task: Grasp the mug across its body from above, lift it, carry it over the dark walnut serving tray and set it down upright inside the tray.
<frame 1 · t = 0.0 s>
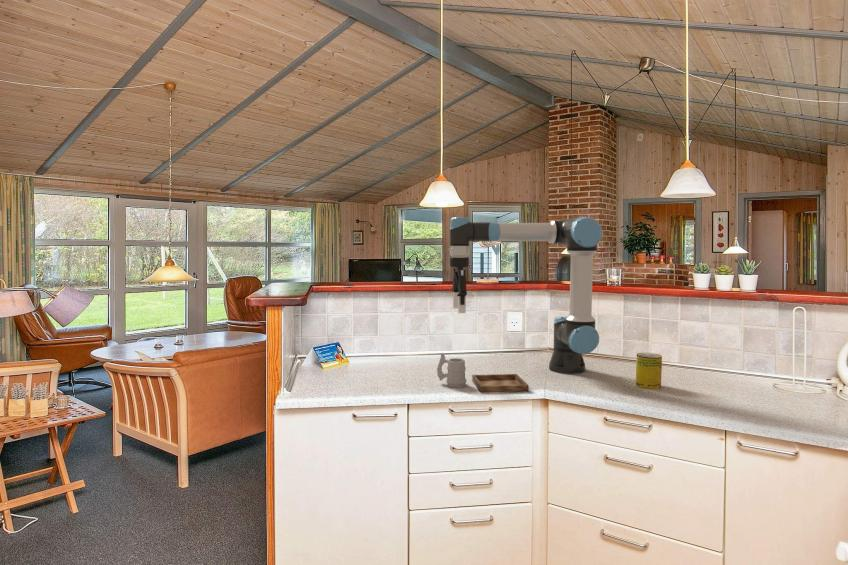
hand: (459, 310, 218), 28 cm above the worktop, fingers open, 13 cm apart
tray: (499, 386, 212), on the worktop
mug: (451, 385, 215), on the worktop
yellow tin can: (648, 386, 213), on the worktop
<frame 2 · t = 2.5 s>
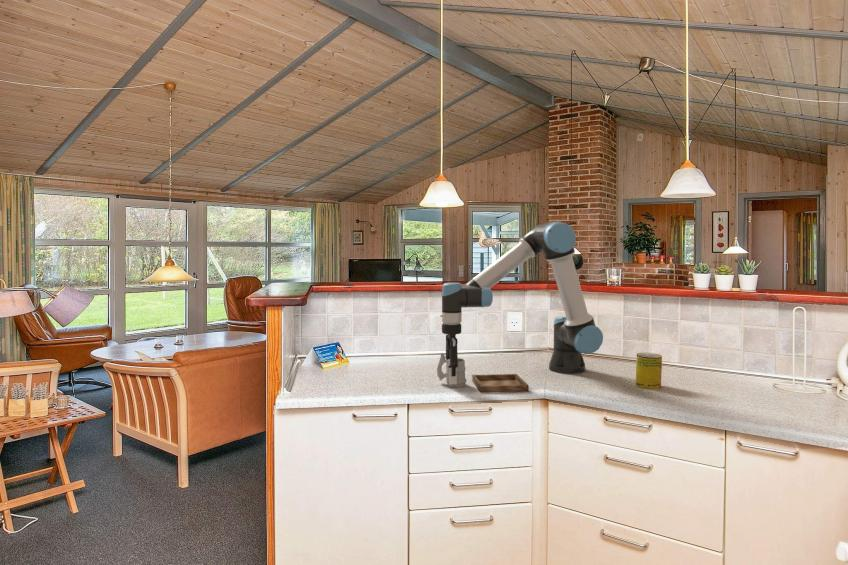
hand: (451, 381, 214), 1 cm above the worktop, fingers open, 9 cm apart
mug: (451, 384, 215), on the worktop, touching gripper
everything else where it was.
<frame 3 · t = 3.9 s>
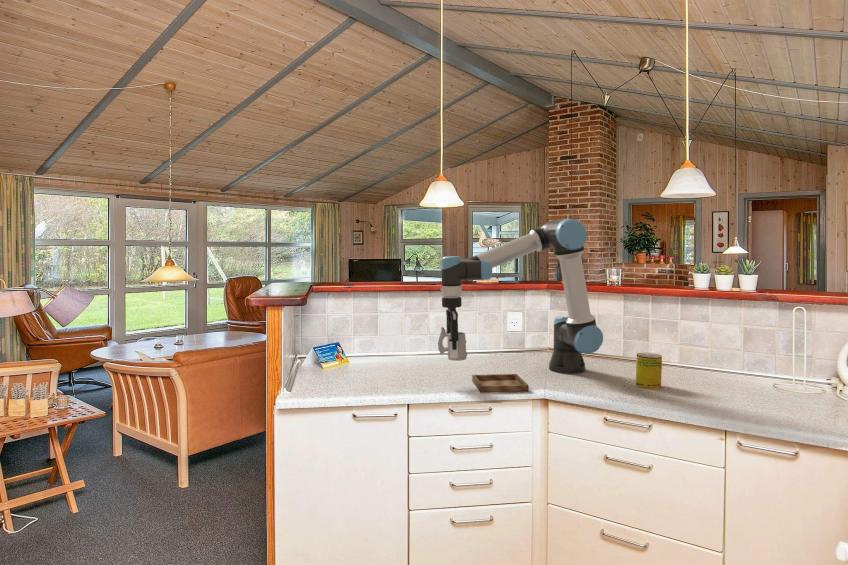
hand: (452, 355, 214), 11 cm above the worktop, fingers closed on mug, 8 cm apart
mug: (452, 358, 215), point 10 cm above the worktop, touching gripper
everything else where it was.
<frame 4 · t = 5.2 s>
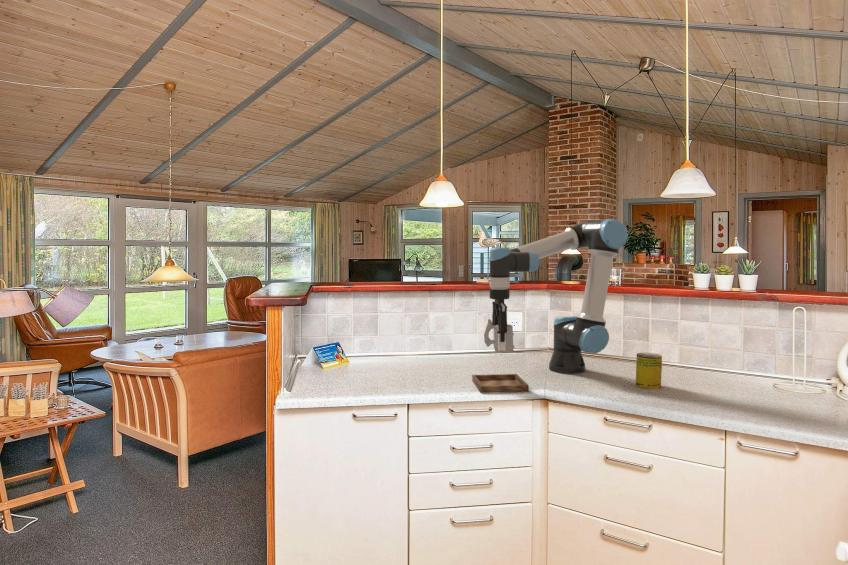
hand: (499, 347, 211), 15 cm above the worktop, fingers closed on mug, 8 cm apart
mug: (498, 351, 212), point 13 cm above the worktop, touching gripper
everything else where it was.
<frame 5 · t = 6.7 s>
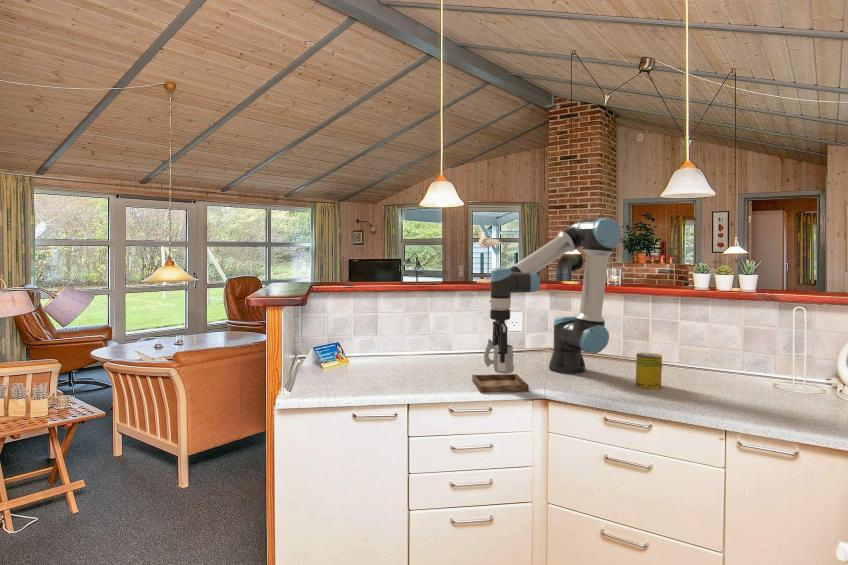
hand: (499, 368, 212), 7 cm above the worktop, fingers closed on mug, 8 cm apart
mug: (498, 371, 213), point 6 cm above the worktop, touching gripper
everything else where it was.
when the fingers open (4 cm above the worktop, at t = 7.8 s): mug drops 2 cm, resting on tray.
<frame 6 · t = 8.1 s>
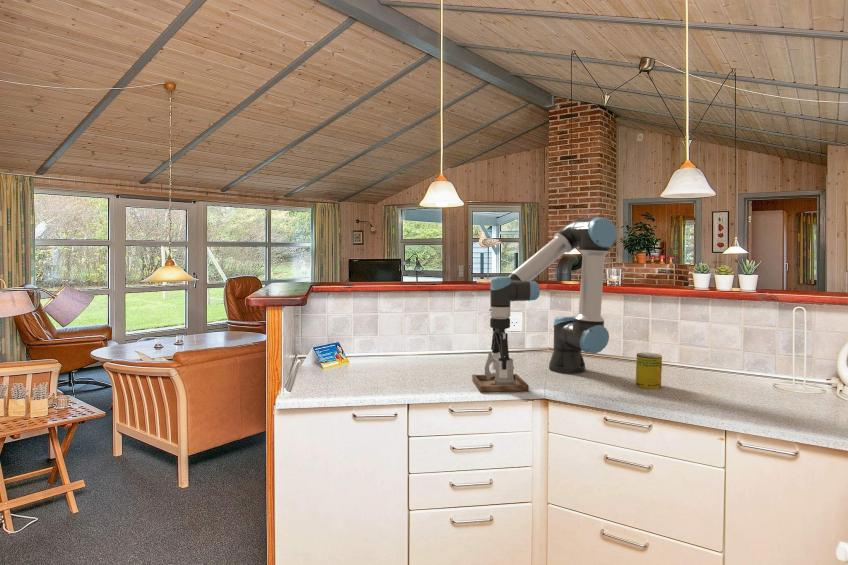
hand: (499, 373, 212), 5 cm above the worktop, fingers open, 12 cm apart
mug: (499, 384, 213), resting on tray
everything else where it was.
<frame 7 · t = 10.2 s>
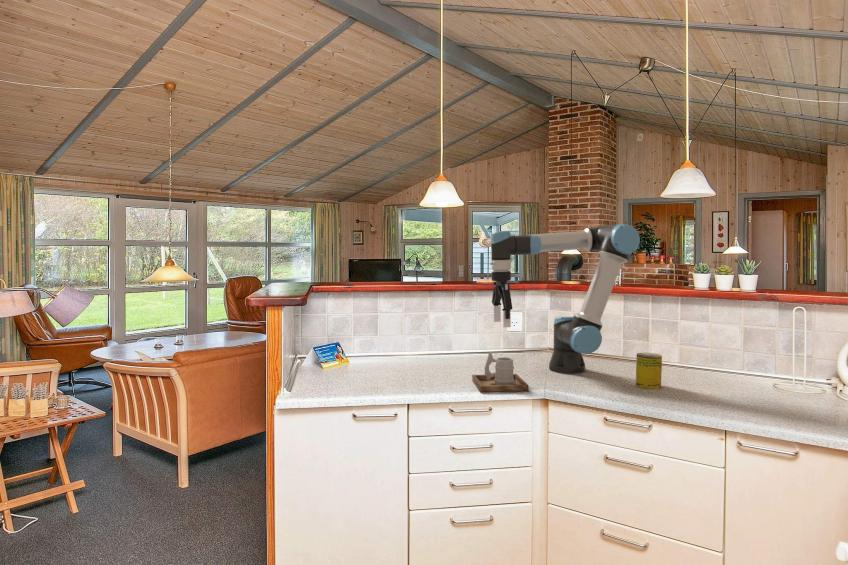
hand: (501, 324, 218), 23 cm above the worktop, fingers open, 13 cm apart
nothing on the worktop moved.
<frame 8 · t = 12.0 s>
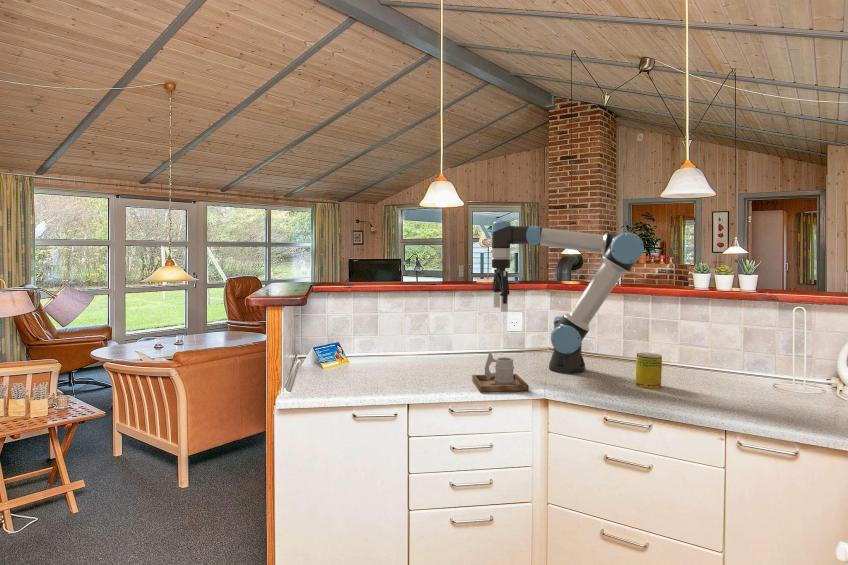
hand: (500, 309, 231), 27 cm above the worktop, fingers open, 13 cm apart
nothing on the worktop moved.
at the end: mug inside the target area on the tray (1.0 cm from its centre), point 0.4 cm above the tray's base; mug tilted 0°; the gripper is holding nothing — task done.
